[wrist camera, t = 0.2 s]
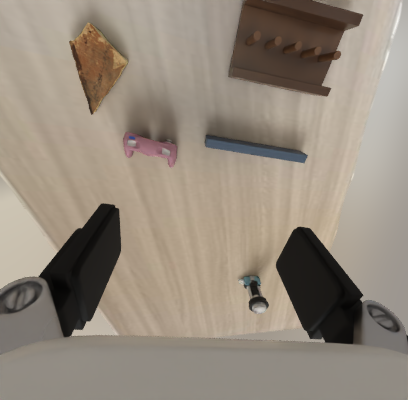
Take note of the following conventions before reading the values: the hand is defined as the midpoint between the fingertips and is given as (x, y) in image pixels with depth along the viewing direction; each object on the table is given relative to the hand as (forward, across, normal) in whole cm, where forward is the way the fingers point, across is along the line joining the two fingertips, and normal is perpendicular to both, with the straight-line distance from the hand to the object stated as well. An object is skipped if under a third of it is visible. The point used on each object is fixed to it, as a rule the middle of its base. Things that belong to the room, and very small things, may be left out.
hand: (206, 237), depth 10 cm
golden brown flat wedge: (+31, +16, -6) cm, 36 cm away
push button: (+31, -23, +42) cm, 57 cm away
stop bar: (+31, -12, +2) cm, 33 cm away
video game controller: (+31, +8, +5) cm, 33 cm away
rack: (+31, -12, -14) cm, 36 cm away
